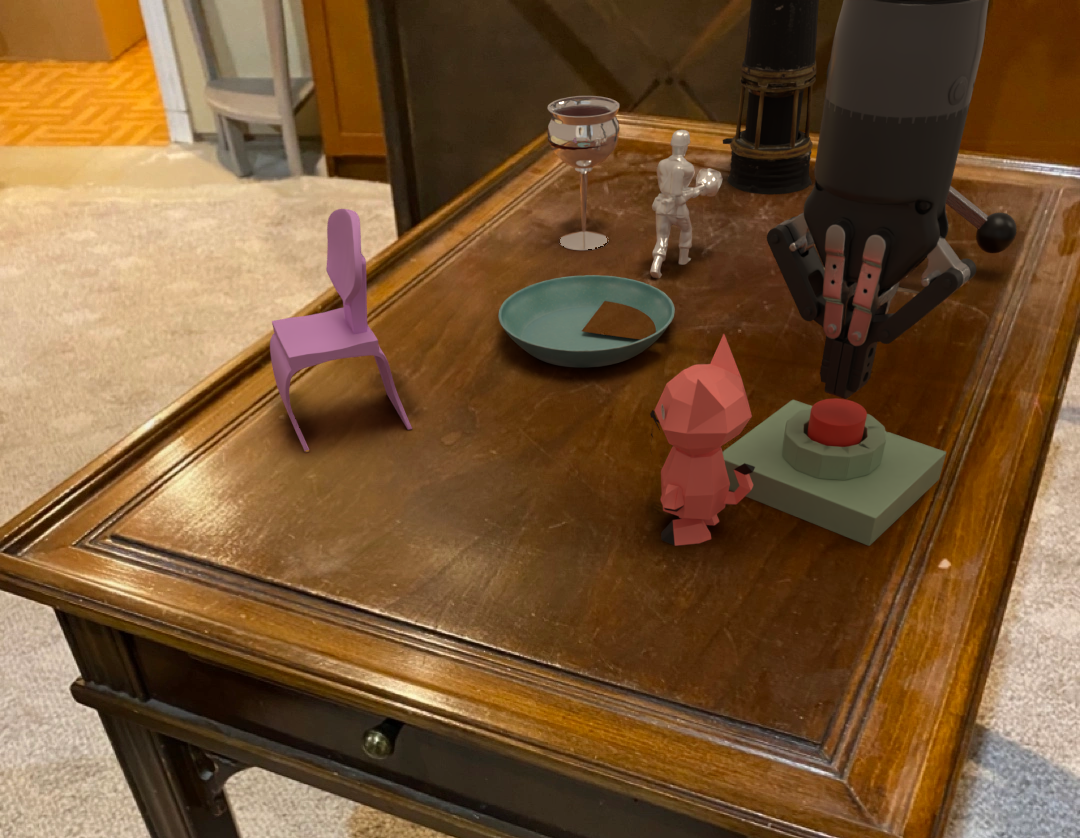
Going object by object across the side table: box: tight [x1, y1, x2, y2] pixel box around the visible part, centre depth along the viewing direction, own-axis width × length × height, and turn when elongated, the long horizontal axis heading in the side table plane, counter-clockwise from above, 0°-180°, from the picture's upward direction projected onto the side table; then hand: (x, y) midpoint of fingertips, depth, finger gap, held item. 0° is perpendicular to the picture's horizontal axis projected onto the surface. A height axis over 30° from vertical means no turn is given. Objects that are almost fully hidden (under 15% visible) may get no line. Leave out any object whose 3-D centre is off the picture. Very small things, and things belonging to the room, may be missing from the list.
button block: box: [722, 399, 947, 547], centre depth 72 cm, size 12×10×4 cm
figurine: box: [649, 129, 723, 279], centre depth 95 cm, size 5×9×12 cm, turn 154°
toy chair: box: [269, 208, 413, 452], centre depth 76 cm, size 8×9×15 cm
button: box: [807, 398, 868, 447], centre depth 70 cm, size 4×4×2 cm
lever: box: [946, 185, 1018, 254], centre depth 90 cm, size 13×3×3 cm, turn 70°
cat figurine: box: [649, 333, 755, 546], centre depth 65 cm, size 7×7×12 cm
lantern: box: [722, 0, 820, 196], centre depth 103 cm, size 9×9×30 cm
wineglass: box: [546, 95, 621, 251], centre depth 101 cm, size 7×7×12 cm
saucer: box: [497, 274, 676, 369], centre depth 89 cm, size 15×15×3 cm
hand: (841, 391), depth 68 cm, fingers closed
